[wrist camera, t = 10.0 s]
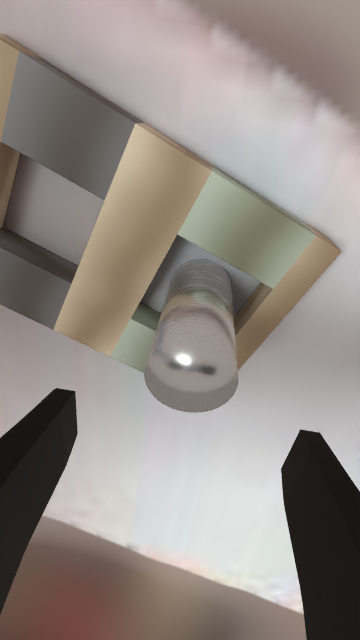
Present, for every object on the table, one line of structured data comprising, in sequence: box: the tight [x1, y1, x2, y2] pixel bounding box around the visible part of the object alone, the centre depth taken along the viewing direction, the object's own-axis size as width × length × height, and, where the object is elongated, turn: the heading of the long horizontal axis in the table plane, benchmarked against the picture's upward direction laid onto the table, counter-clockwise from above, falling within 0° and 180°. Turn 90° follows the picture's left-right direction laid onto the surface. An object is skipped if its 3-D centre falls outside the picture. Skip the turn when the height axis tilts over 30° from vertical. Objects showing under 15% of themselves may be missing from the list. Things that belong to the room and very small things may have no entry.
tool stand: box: [0, 33, 341, 373], centre depth 18 cm, size 18×12×2 cm
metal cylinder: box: [144, 259, 238, 412], centre depth 16 cm, size 4×4×8 cm
